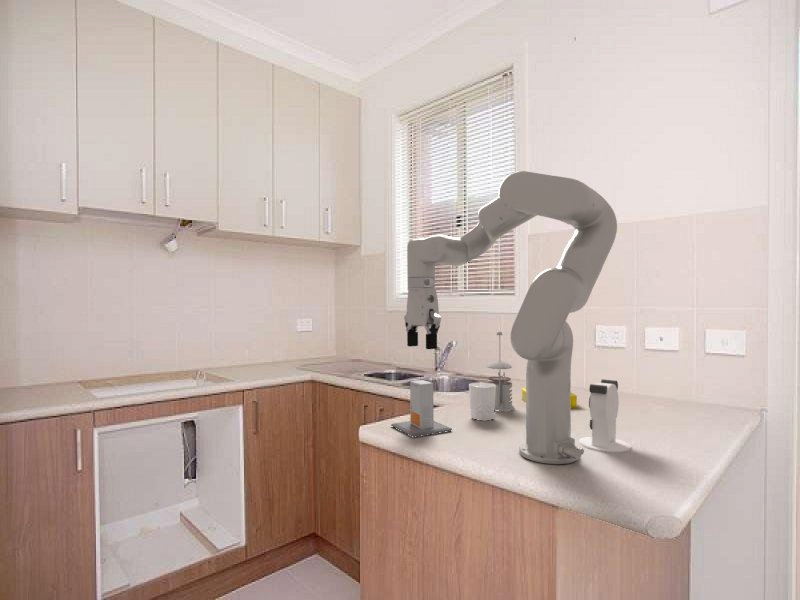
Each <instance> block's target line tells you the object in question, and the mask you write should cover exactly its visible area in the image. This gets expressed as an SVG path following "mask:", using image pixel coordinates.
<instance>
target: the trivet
mask: <svg viewBox="0 0 800 600" xmlns="http://www.w3.org/2000/svg"><path fill="white" fill-rule="evenodd" d="M390 426H393V427H395V428H397V429H399V430H401V431H403V432H405V433H407V434H409V435H411V436H413V437H415V436H421V435H427V434H432V433H439V432H445V431H451V430H452V431H453V428H452V427H449V426H447V425H444V424H442V423H441V422H437V421H435V420H434V427H433V428H426V429H420V428H418V427H416V426H414V425H412V424H410V420H409V421H402V422H394V423H391V425H390ZM393 427H392V428H393ZM395 428H394V429H395ZM397 429H396V430H397ZM399 430H398V431H399ZM401 431H400V432H401ZM403 432H402V433H403Z"/></svg>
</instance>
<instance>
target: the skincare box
mask: <svg viewBox="0 0 800 600" xmlns="http://www.w3.org/2000/svg"><path fill="white" fill-rule="evenodd" d="M409 386H410V387H409V389H410V391H409V392H410V394H409V395H410V397H409V398H410V399H409V400H410V401H409V402H410V403H409V404H410V405H409V406H410V407H409V409H410V412H409V413H410V414H409V415H410V418H409V419H410V420H409V421H410V424H412V425H414V426H416V427H418V428H420V429H426V428H433V427H434V421H435V420H434V418H435V417H434V412H435V411H434V383H433V382H430V381H429V380H424V379H417V380H410V383H409Z"/></svg>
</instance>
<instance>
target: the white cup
mask: <svg viewBox="0 0 800 600" xmlns="http://www.w3.org/2000/svg"><path fill="white" fill-rule="evenodd" d="M468 391H469V392H468V393H469V408H470V418H471V417H472V418H474V419H479V420H490V421H492V420H491V419H493V420H494V418H495V411H494V410H495V393H496V385H495V384H492V383H488V382H472V383H471V382H470V383H469V384H468ZM472 418H471V419H472ZM474 419H473V420H474Z"/></svg>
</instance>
